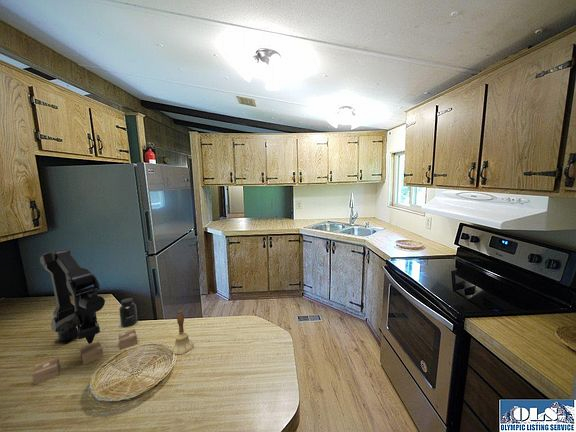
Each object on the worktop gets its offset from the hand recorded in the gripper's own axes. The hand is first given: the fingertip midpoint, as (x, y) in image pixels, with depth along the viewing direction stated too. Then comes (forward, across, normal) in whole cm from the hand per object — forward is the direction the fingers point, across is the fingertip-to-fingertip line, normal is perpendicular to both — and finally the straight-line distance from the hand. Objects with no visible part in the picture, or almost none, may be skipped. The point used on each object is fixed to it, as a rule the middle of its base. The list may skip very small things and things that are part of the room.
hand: (90, 343), depth 95 cm
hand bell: (+6, +20, +28) cm, 35 cm away
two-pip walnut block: (+6, 0, +12) cm, 14 cm away
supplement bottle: (+6, -18, +15) cm, 24 cm away
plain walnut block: (+6, 0, 0) cm, 6 cm away
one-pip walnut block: (+6, 0, -12) cm, 14 cm away
